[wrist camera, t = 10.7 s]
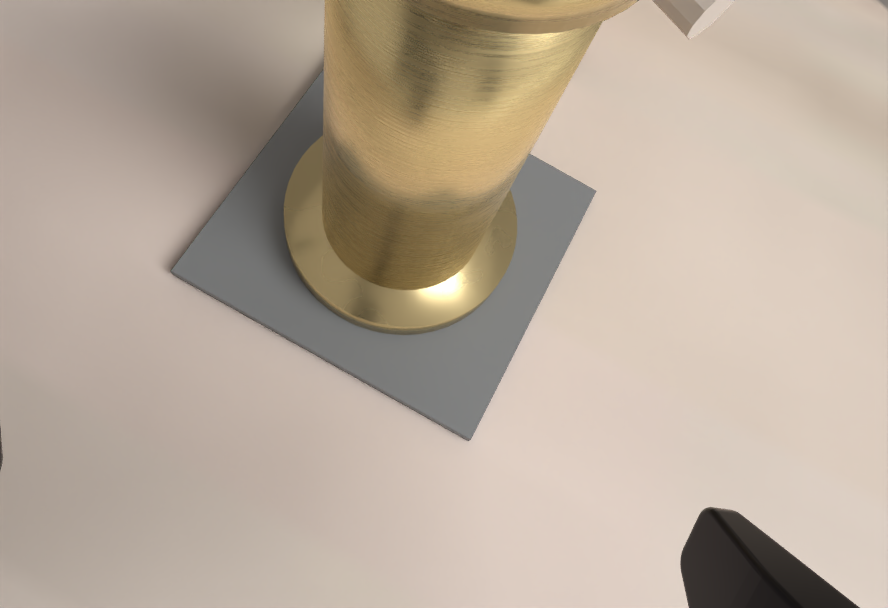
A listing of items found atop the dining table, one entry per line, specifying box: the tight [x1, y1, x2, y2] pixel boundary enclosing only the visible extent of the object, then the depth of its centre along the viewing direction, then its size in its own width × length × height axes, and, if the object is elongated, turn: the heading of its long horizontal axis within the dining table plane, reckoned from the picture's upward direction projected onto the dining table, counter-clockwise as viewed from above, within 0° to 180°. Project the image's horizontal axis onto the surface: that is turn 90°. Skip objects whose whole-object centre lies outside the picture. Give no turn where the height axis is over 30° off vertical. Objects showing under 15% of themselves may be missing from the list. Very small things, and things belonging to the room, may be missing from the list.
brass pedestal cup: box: [284, 0, 639, 335], centre depth 14 cm, size 6×6×12 cm
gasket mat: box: [171, 69, 596, 441], centre depth 20 cm, size 9×9×1 cm
